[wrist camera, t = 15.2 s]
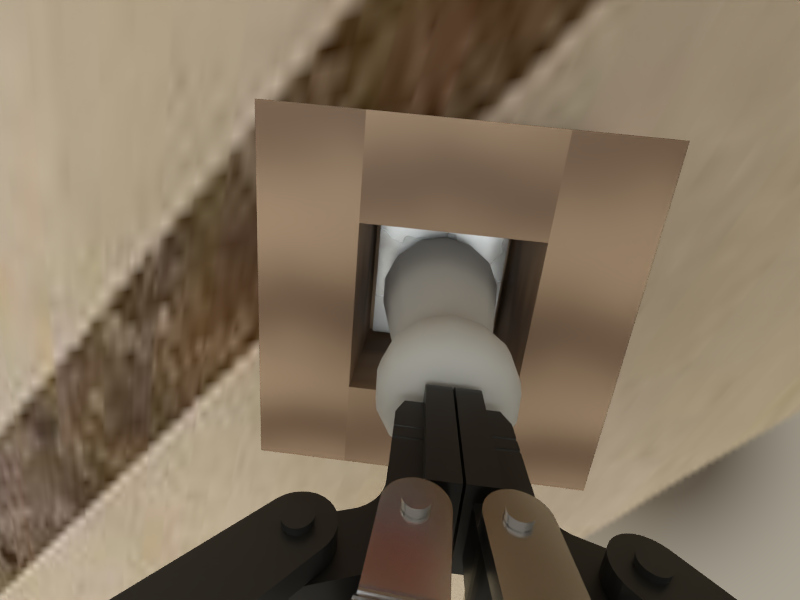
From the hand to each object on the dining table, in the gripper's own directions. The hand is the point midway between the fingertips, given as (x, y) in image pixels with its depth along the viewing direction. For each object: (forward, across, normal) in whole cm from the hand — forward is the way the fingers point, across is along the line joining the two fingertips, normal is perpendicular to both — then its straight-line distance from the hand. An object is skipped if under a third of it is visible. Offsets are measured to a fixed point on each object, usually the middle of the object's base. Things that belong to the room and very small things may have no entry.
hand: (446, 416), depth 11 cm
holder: (+15, 0, 0) cm, 15 cm away
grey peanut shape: (+13, 0, 0) cm, 13 cm away
